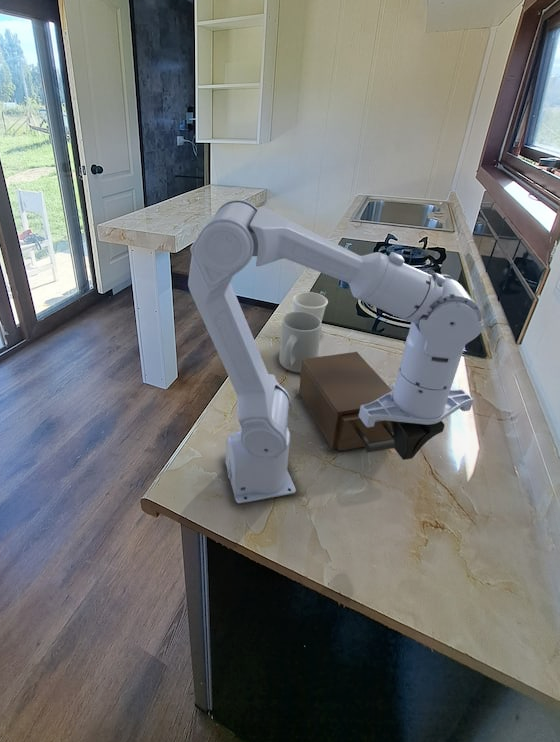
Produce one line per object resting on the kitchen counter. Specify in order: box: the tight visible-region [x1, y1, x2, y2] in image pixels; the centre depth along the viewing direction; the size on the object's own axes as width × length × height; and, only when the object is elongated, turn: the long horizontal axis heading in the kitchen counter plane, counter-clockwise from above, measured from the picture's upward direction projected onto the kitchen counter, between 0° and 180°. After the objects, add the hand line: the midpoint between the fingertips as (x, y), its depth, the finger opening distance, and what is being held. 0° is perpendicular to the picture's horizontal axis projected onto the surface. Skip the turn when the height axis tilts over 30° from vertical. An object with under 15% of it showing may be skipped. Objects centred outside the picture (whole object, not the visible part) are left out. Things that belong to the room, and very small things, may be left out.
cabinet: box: [298, 351, 393, 450], centre depth 71 cm, size 15×12×9 cm
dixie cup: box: [292, 291, 329, 323], centre depth 97 cm, size 8×8×10 cm
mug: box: [278, 311, 322, 374], centre depth 85 cm, size 12×8×11 cm
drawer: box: [336, 413, 395, 453], centre depth 68 cm, size 18×10×7 cm, turn 10°
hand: (403, 453), depth 53 cm, fingers closed
